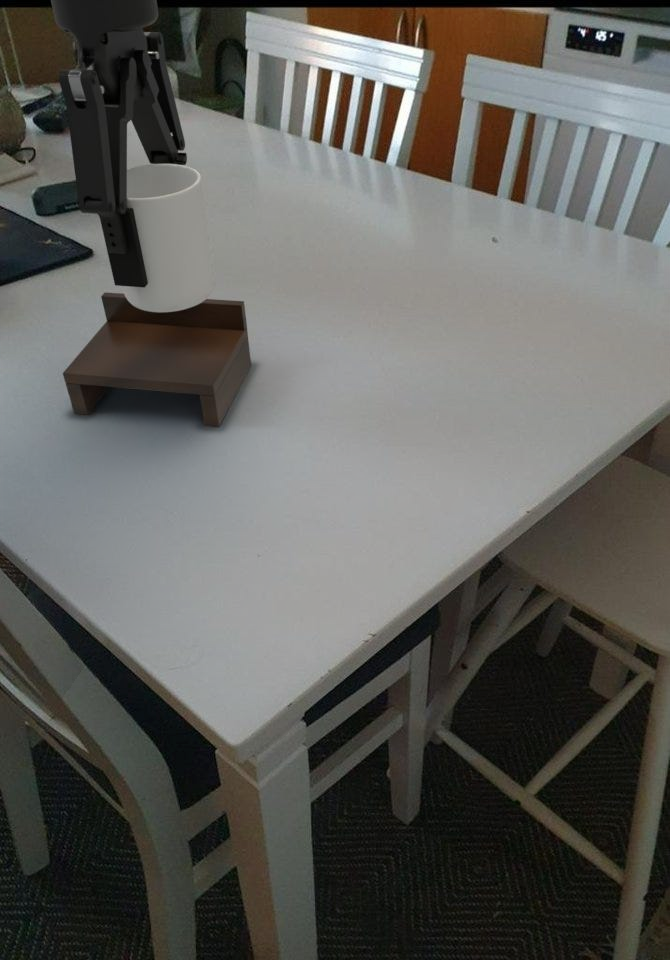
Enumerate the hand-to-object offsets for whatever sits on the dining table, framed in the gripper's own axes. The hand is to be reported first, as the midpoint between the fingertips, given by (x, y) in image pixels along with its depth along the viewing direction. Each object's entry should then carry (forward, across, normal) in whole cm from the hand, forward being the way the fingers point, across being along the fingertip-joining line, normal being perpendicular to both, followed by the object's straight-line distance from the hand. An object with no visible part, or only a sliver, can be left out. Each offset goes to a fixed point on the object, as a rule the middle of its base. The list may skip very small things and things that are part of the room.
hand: (153, 260), depth 72 cm
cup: (+3, +1, 0) cm, 3 cm away
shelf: (+18, +5, +4) cm, 19 cm away
